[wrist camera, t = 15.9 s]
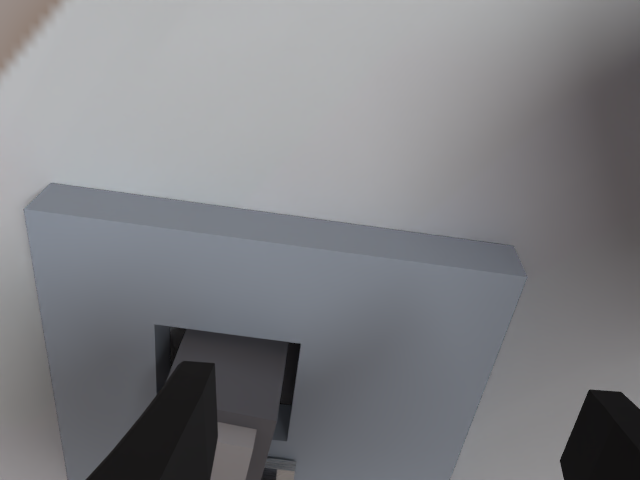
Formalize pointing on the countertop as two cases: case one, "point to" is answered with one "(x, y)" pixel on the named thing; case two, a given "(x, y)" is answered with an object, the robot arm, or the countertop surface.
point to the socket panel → (271, 324)
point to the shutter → (278, 469)
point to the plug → (240, 397)
